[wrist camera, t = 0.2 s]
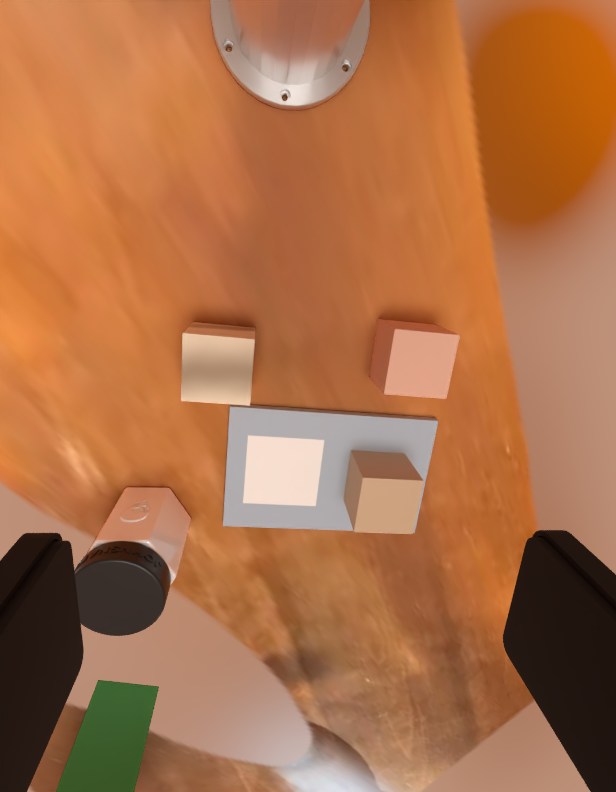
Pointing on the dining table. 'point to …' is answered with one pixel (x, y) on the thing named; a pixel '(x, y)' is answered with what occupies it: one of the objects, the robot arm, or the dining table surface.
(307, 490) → the board
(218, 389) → the birch block
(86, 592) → the jar
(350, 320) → the dining table surface
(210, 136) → the dining table surface
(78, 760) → the hardback book
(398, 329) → the terracotta block
